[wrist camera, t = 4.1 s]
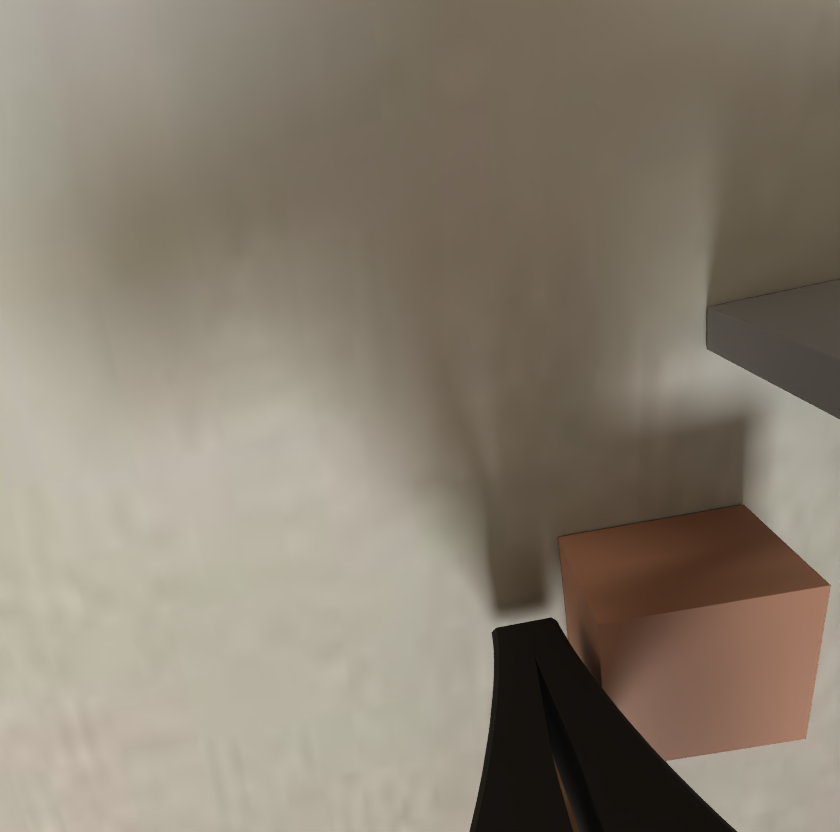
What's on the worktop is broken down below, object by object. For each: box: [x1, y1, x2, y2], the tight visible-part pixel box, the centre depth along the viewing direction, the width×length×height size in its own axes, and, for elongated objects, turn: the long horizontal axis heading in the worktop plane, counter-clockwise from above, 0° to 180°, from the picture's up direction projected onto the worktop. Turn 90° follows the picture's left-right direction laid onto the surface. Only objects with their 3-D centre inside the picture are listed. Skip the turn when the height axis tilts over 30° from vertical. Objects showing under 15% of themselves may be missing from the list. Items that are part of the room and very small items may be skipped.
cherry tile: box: [558, 505, 831, 761], centre depth 11 cm, size 4×4×2 cm
